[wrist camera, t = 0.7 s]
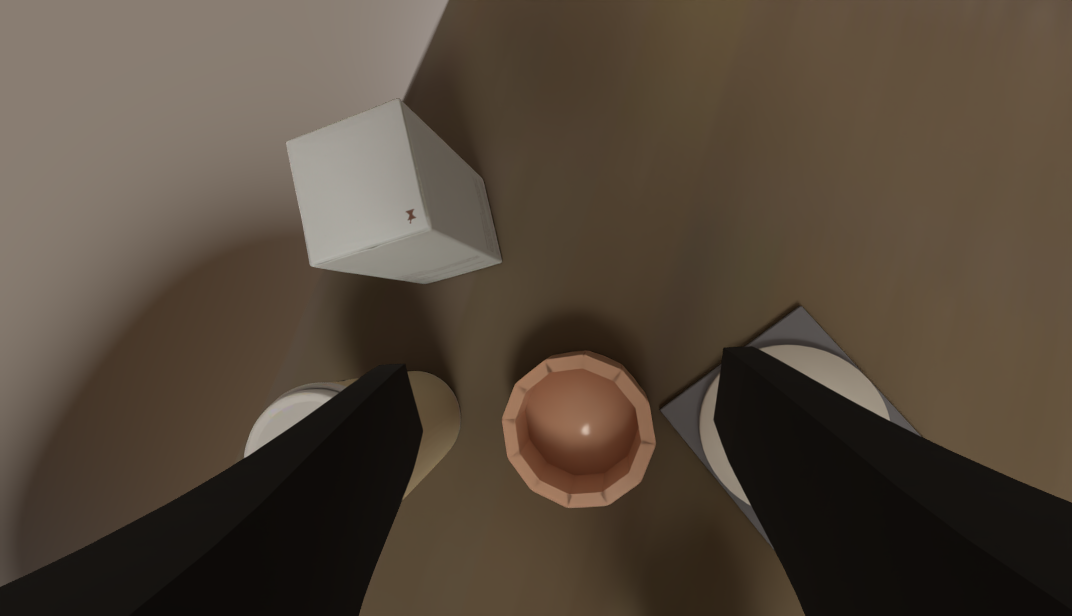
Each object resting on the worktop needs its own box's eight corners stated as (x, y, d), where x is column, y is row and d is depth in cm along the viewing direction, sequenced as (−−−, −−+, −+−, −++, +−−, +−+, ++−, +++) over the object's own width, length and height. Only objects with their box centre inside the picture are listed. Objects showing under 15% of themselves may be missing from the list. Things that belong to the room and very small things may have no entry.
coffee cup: (395, 341, 34) (276, 355, 22) (490, 393, 32) (416, 440, 20) (351, 437, 34) (214, 501, 23) (442, 494, 33) (343, 595, 21)
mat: (929, 448, 26) (934, 450, 26) (773, 548, 28) (775, 551, 27) (798, 306, 28) (801, 306, 27) (659, 409, 29) (660, 410, 29)
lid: (928, 449, 26) (987, 475, 22) (776, 547, 27) (804, 589, 23) (800, 310, 27) (833, 309, 23) (664, 410, 29) (672, 426, 25)
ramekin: (677, 431, 29) (687, 449, 25) (571, 507, 31) (565, 536, 27) (590, 324, 30) (586, 326, 27) (493, 402, 32) (476, 415, 28)
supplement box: (484, 176, 32) (402, 91, 20) (504, 264, 32) (433, 233, 20) (404, 201, 34) (280, 137, 21) (421, 286, 33) (306, 270, 21)
